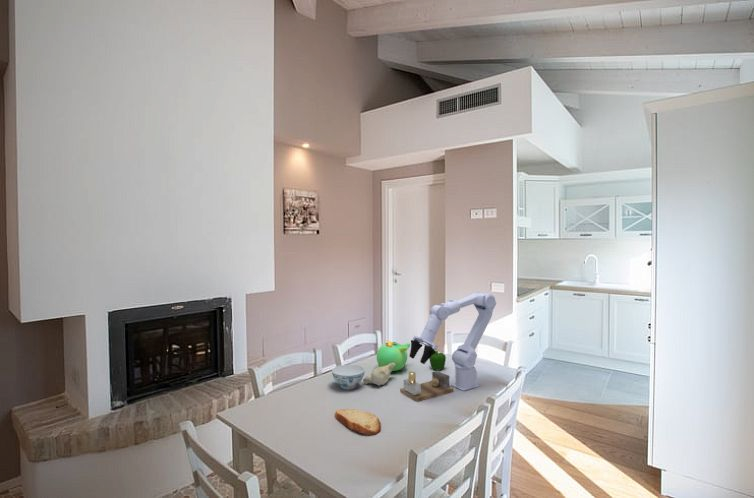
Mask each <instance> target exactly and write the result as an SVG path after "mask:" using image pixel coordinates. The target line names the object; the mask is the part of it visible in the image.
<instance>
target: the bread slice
mask: <svg viewBox="0 0 754 498" xmlns="http://www.w3.org/2000/svg"><path fill="white" fill-rule="evenodd" d="M334 418H335V419H336V420H337V421H338V422H339V423H341V424H342V425H343V426H344V427H346V428H348V429H350V430H351V431H354V432H356V433H359V434H362V435H365V436H376V435H378V434H379V433H381V431H382V424H381V421H380V419H379V418H378V417H377V416H376V415H375V414H373V413H371V412H369V411H365V410H364V411H363V410H359V409H351V408H343V409H342V408H341V409H336V410H335V413H334Z"/></svg>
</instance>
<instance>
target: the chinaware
mask: <svg viewBox="0 0 754 498" xmlns="http://www.w3.org/2000/svg"><path fill="white" fill-rule="evenodd" d="M365 372H366V369H365V367H364V366H362V365H359V364H340V365H337V366H334V367H333V368H331V373H332V377H333V380H334V381H335V382H336V383H337V384H338V385H339V386H340V388H342V389H344V390H353V389H355V388H357V385H359V383H361V382H362V381H363V379H364V376H365Z"/></svg>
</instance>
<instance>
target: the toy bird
mask: <svg viewBox="0 0 754 498" xmlns="http://www.w3.org/2000/svg"><path fill="white" fill-rule="evenodd" d="M385 342H386V343H383V344H381V346H379V348H378V350H377V352H376V361H377V364H378V365H379V366H378V367H383V366H386V365H389V364H390V363H395V366H394V368H393V370H392V371H391V372H397V371H399V370H401V369H403V368H404V367H405V366H406V363H407V361H408V352H407V351H408V349H410V348H409V347H411V342H408V343H405V344H403V345H402V344H400V343H398V342H396V341H390V340H385Z"/></svg>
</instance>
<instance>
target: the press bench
mask: <svg viewBox="0 0 754 498" xmlns="http://www.w3.org/2000/svg"><path fill="white" fill-rule="evenodd" d="M431 374H432V376H431V377H432V379H431V380H430V381H426V382H422V383H420V384H421V394H418V395H413V394H412V393H410V392H408V391H406V390H404V387H403V388H400V389H399V392H400V393H401V394H403V395H404V396H406V397H408V398H410V399H412V400H413V401H415V402H417V403H418V402H421V401H422V402H423V401H425V400H429V399H432V398H437V397H439V396H443V395H447V394H451V393H454V387H453V386H452V387H451V386H450V375H449V374H446V373H444V372H441V371H440V370H433V371H432V372H431Z"/></svg>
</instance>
